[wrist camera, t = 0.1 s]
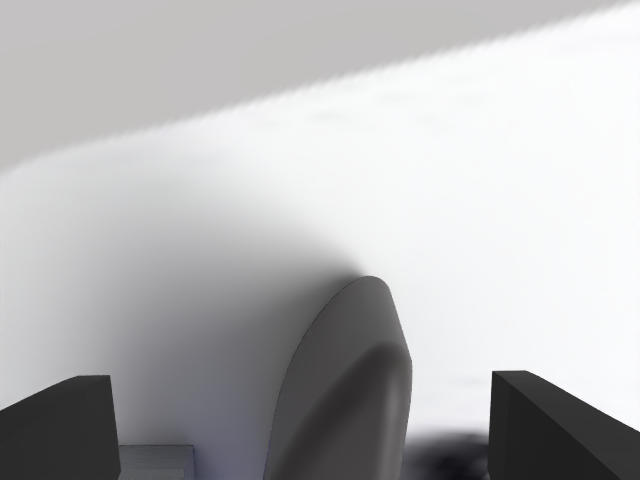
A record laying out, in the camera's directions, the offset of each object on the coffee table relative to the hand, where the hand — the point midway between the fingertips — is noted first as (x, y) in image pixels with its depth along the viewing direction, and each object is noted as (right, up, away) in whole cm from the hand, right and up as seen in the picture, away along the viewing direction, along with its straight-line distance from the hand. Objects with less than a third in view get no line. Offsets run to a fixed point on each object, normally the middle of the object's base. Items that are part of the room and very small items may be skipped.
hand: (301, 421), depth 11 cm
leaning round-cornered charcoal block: (0, -4, +12) cm, 12 cm away
